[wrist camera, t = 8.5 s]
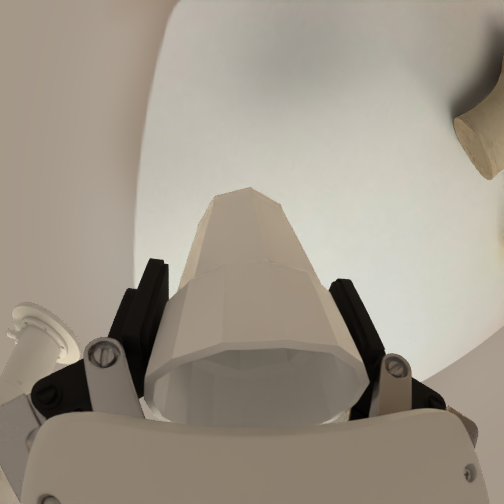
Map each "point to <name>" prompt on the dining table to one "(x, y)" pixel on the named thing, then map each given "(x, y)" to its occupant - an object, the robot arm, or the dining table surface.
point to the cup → (251, 329)
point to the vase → (485, 131)
